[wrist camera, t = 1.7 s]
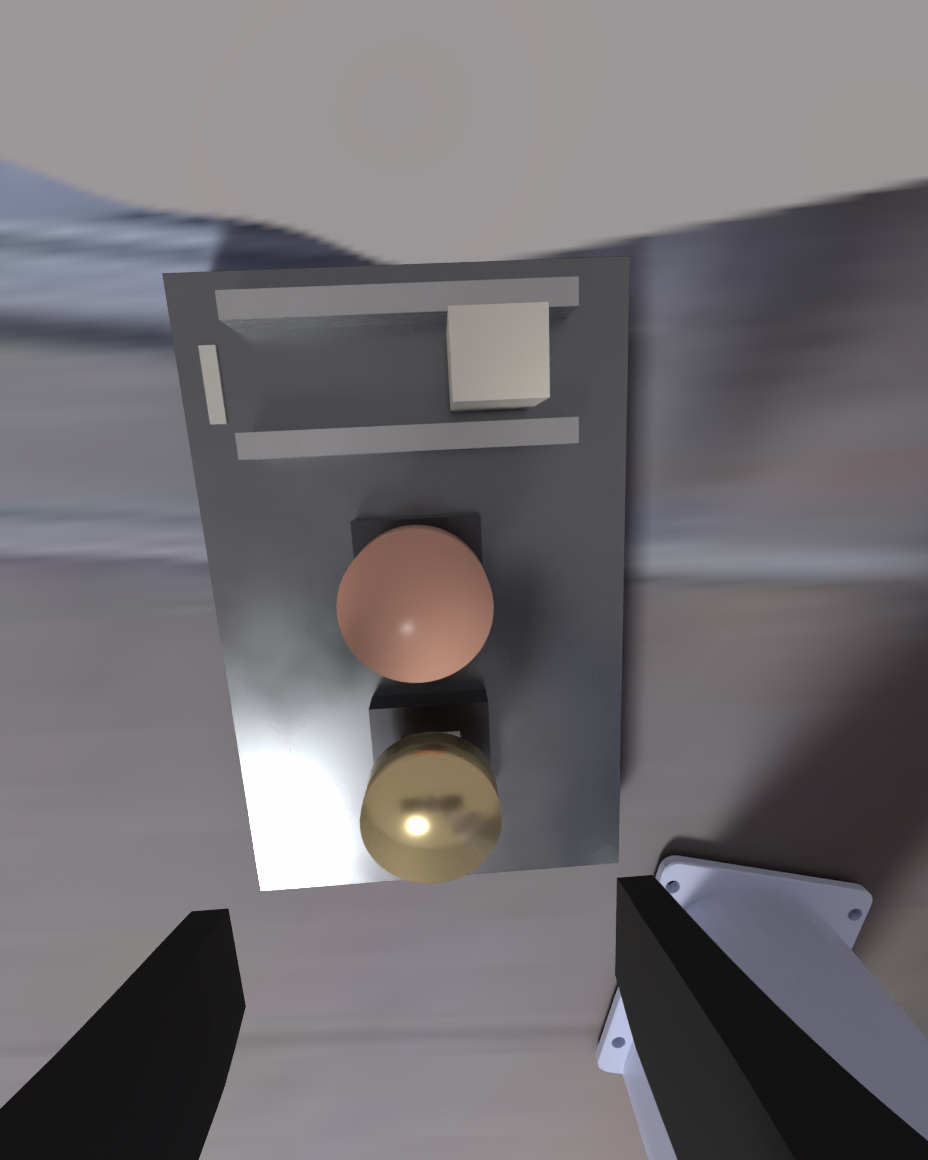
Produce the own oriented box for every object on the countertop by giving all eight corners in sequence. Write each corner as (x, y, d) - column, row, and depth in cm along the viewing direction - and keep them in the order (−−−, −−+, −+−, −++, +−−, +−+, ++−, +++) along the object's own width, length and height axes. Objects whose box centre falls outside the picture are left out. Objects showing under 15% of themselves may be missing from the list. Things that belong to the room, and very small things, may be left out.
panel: (599, 820, 18) (629, 888, 15) (280, 844, 18) (249, 918, 15) (604, 284, 15) (645, 238, 12) (200, 299, 14) (138, 256, 11)
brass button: (494, 817, 14) (504, 877, 12) (376, 827, 14) (366, 888, 12) (490, 710, 14) (499, 754, 12) (366, 718, 13) (353, 764, 11)
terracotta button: (487, 644, 13) (496, 677, 11) (359, 652, 13) (344, 687, 11) (482, 516, 12) (490, 527, 10) (346, 523, 12) (328, 536, 10)
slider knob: (531, 408, 13) (549, 397, 11) (450, 411, 13) (453, 401, 11) (529, 328, 13) (548, 301, 10) (446, 332, 12) (447, 306, 10)
